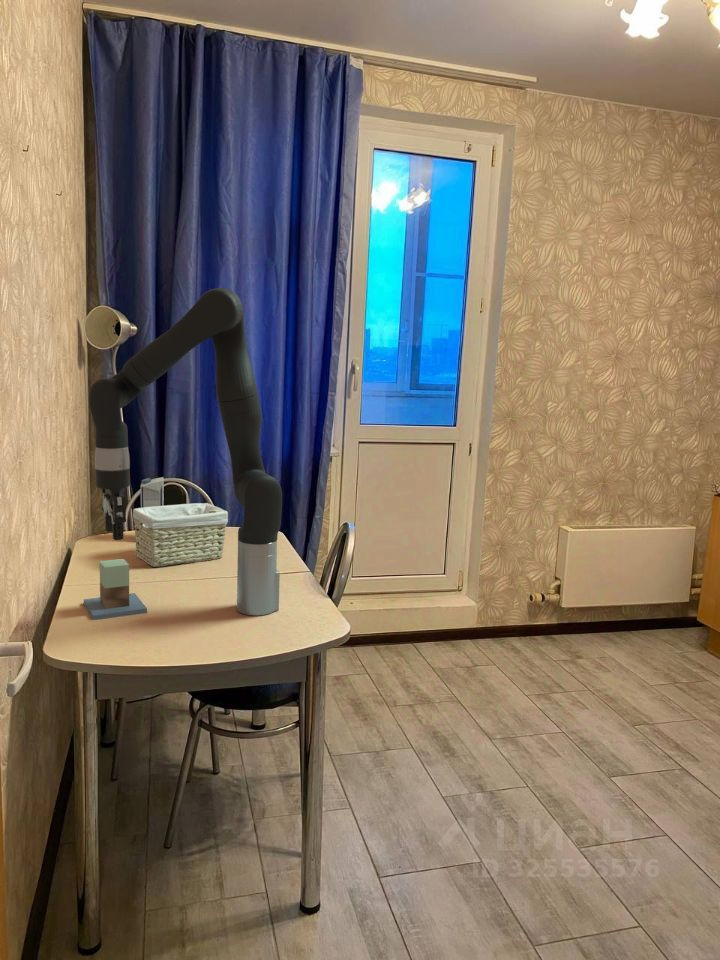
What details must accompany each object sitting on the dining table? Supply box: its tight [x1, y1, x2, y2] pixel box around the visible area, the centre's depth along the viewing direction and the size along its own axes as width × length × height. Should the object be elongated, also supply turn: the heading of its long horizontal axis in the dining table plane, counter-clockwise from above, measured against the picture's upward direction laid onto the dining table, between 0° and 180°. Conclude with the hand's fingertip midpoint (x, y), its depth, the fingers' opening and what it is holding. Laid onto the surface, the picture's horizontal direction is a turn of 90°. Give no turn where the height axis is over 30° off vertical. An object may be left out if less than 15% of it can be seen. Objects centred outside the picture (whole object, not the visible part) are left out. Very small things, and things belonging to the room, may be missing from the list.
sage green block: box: [99, 558, 130, 588], centre depth 173 cm, size 6×6×5 cm
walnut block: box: [99, 581, 130, 609], centre depth 174 cm, size 6×6×5 cm
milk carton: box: [140, 476, 165, 508], centre depth 235 cm, size 7×7×20 cm
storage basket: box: [132, 502, 229, 568], centre depth 216 cm, size 24×16×15 cm
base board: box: [83, 592, 148, 621], centre depth 174 cm, size 12×12×1 cm
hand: (114, 535), depth 172 cm, fingers open, 8 cm apart
